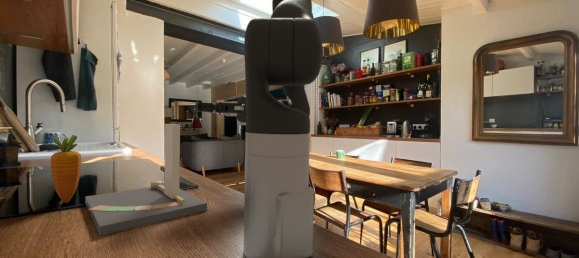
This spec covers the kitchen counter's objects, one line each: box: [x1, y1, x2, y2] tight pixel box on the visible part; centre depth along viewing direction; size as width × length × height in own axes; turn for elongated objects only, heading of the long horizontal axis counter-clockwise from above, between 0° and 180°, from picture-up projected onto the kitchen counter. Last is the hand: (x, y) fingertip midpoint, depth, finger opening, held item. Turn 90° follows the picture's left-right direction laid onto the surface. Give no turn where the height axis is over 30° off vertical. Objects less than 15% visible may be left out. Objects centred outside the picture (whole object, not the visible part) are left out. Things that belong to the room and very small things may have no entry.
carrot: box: [50, 134, 82, 204], centre depth 55 cm, size 5×5×15 cm
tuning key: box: [150, 123, 184, 203], centre depth 58 cm, size 18×3×16 cm, turn 44°
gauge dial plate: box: [85, 186, 208, 237], centre depth 54 cm, size 21×18×2 cm
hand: (196, 106), depth 61 cm, fingers closed
